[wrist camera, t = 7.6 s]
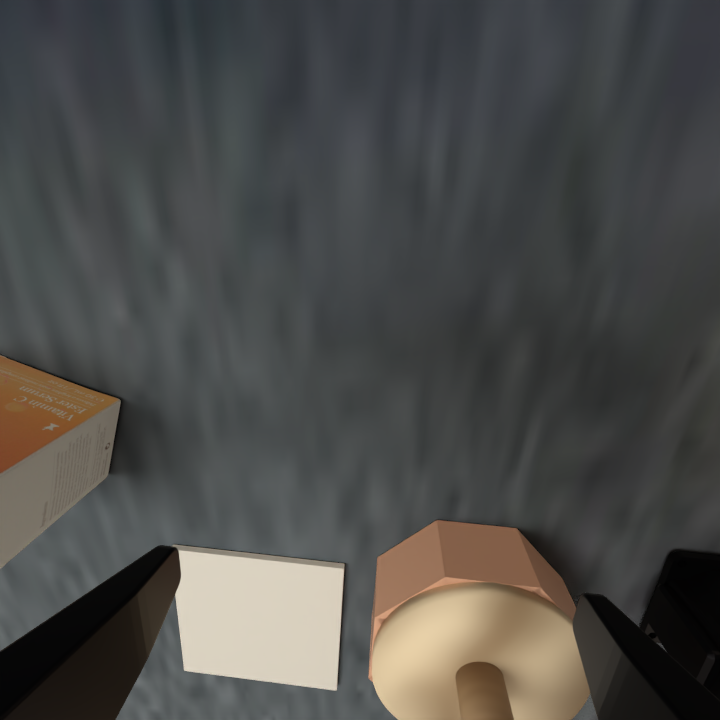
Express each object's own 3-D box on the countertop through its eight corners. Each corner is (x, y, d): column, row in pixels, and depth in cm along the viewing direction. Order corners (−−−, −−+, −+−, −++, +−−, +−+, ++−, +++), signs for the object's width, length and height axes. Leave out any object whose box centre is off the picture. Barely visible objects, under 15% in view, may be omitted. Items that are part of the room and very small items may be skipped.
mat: (344, 563, 25) (343, 568, 24) (337, 684, 28) (336, 690, 28) (173, 544, 25) (170, 549, 25) (187, 664, 29) (184, 670, 29)
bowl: (574, 534, 23) (610, 595, 19) (535, 668, 26) (559, 742, 23) (381, 513, 23) (379, 569, 20) (368, 647, 27) (364, 716, 23)
